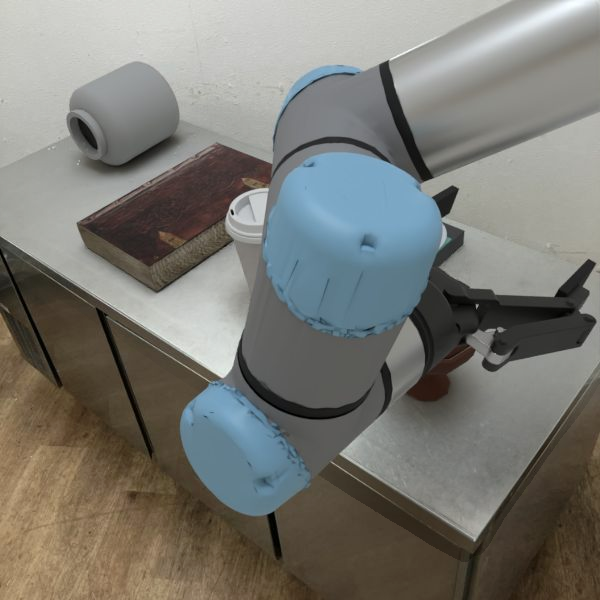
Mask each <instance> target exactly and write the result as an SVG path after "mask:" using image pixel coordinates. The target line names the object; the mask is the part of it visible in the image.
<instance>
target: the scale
mask: <svg viewBox="0 0 600 600" xmlns="http://www.w3.org/2000/svg"><path fill="white" fill-rule="evenodd" d="M442 225H443V232H442V239H441V244H440V246H439V249H438V252H437V254H436V257H435V259H434V262H433V265H432V267H433V268H434V267H436V266H437V267H438V268H439V267H440V266H441V265H442V264H443V263H444V262H445V261H446V260H447V259H449V257H450V256H452V255H453V254H454V253H455V252H456V251H457V250H458V249H460V248H461V247H462V246H463V245H464V240H465V229H461V228H459V227H457V226H454V225H451V224H449V223H447V222H444V221H442Z"/></svg>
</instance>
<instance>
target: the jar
mask: <svg viewBox="0 0 600 600" xmlns="http://www.w3.org/2000/svg"><path fill="white" fill-rule="evenodd" d="M68 107H69V111H68V110H66V113H67V115H66V119H65V121H66V126H67V130H68V132H69V134H70V137H71V139H72V140H73V142H74V144H75V145H76V146H77V148H78V149H79V150H80V152H82V153H83V154H84V155H85V156H86V157H88V158H89V159H91V160H94V161H98V160H100V161H101V162H102V163H104V164H107V165H109V166H116V167H117V166H121V165H124V164H126V163H128V162H129V161H131V160H132V159H134V158H137V156H140V155H141V154H142V153H144V152H146V151H148V150H149V149H152V148H153V147H154V146H156V145H158V144H160V143H162V142H163V141H165V140H166V139H168V138H169V137H171V136H172V135H174V133H175V132H176V131H177V129H178V127H179V123H180V119H181V116H180V115H181V114H180V108H179V103H178V100H177V97H176V95H175V92H174V90H173V89H172V87H171V85H170V83H169V82H168V81H167V79H166V78H165V76H164V75H163V74H162V73H160V71H159V70H157V69H156V68H155V67H154V66H152V65H151V64H148V63H146V62H142V61H135V60H134V61H132V62H128V63H126V64H124V65H122V66H120V67H118V68H115V69H114V70H112V71H109V72H108V73H106V74H104V75H102V76H100V77H97V78H95V79H94V80H91V81H89V82H88V83H85V84H83V85H82V86H79V87H78V88H76V89H75V90H73V92H72V93H71V96H70V98H69V102H68ZM61 110H62V111H63V110H64V107H62V108H61ZM62 126H65V123H62ZM63 131H64V129H63V128H61V130H59V131H58V133H59V134H62V132H63ZM195 137H196V135H193V138H195ZM56 139H58V140H59V139H61V136H59V135H58V136H57V138H56ZM187 142H189V139H187ZM178 148H179V149H180V148H181V146H180V145H179V146H178ZM52 150H56V146H52ZM47 151H48V152H49V151H51V148H49V147H48V148H47ZM69 151H70V152H71V151H72V148H70V149H69ZM174 155H177V152H174ZM78 162H79V163H78ZM78 162H77V163H76V166H80V162H81V160H80V159H79V160H78Z"/></svg>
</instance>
